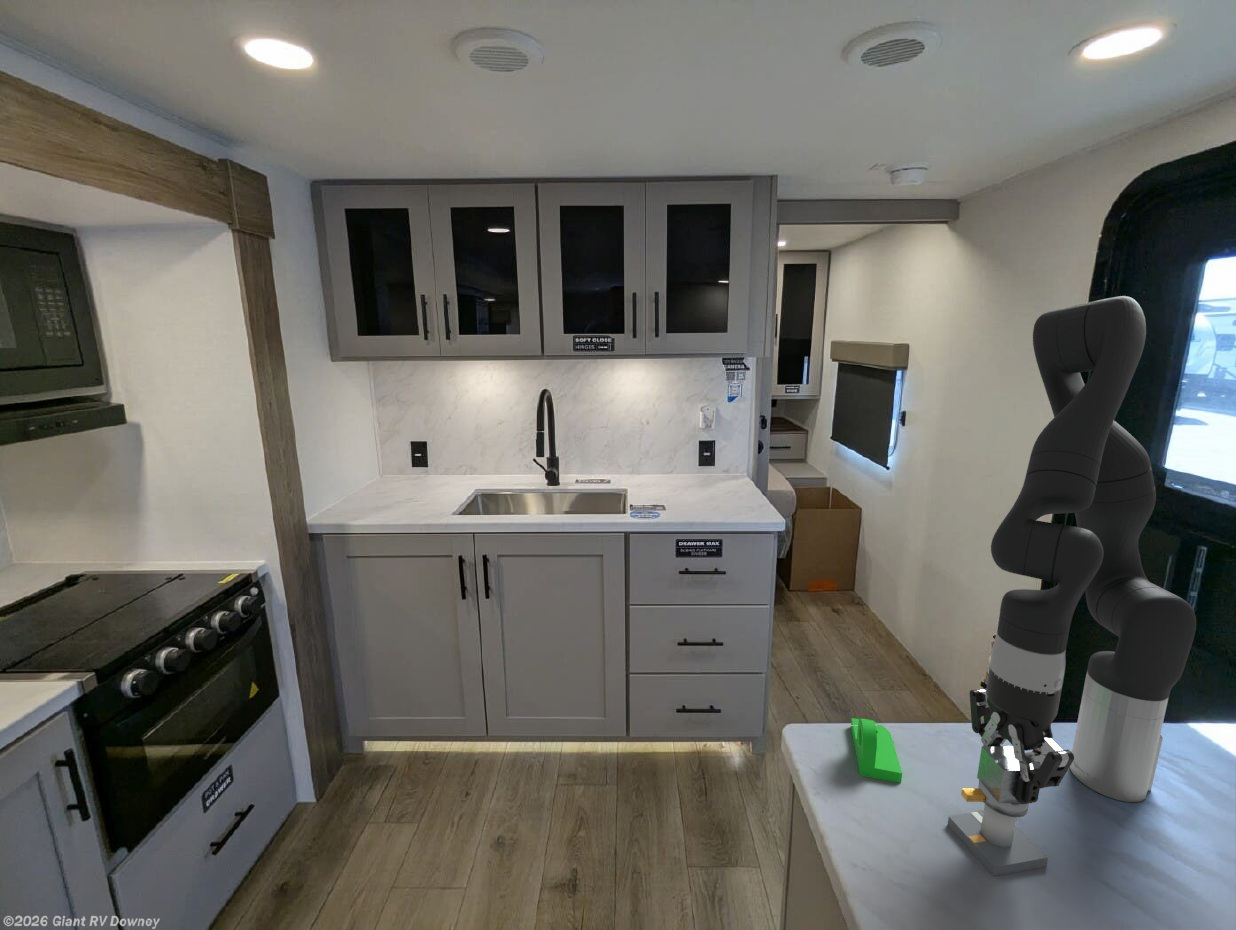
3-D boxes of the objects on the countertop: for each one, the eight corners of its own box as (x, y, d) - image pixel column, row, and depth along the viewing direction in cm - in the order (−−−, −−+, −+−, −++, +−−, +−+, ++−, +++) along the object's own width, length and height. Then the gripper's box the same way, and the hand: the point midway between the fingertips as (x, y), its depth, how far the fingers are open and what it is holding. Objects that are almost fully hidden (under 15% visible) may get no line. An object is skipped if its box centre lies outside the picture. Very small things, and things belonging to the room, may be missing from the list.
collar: (951, 783, 77) (957, 742, 75) (1008, 784, 77) (1015, 743, 75) (976, 817, 71) (983, 773, 70) (1038, 817, 71) (1046, 773, 70)
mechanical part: (900, 783, 86) (906, 739, 85) (859, 776, 88) (864, 732, 86) (886, 733, 98) (891, 694, 96) (850, 727, 99) (854, 688, 98)
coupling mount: (995, 816, 80) (1002, 775, 78) (1046, 866, 72) (1054, 822, 71) (947, 824, 79) (953, 783, 77) (993, 876, 71) (1001, 831, 69)
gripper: (957, 645, 76) (943, 750, 80) (1050, 710, 62) (1028, 834, 66) (1005, 640, 77) (989, 744, 81) (1107, 704, 63) (1083, 826, 67)
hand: (1007, 784), depth 73 cm, fingers closed on collar, 5 cm apart
